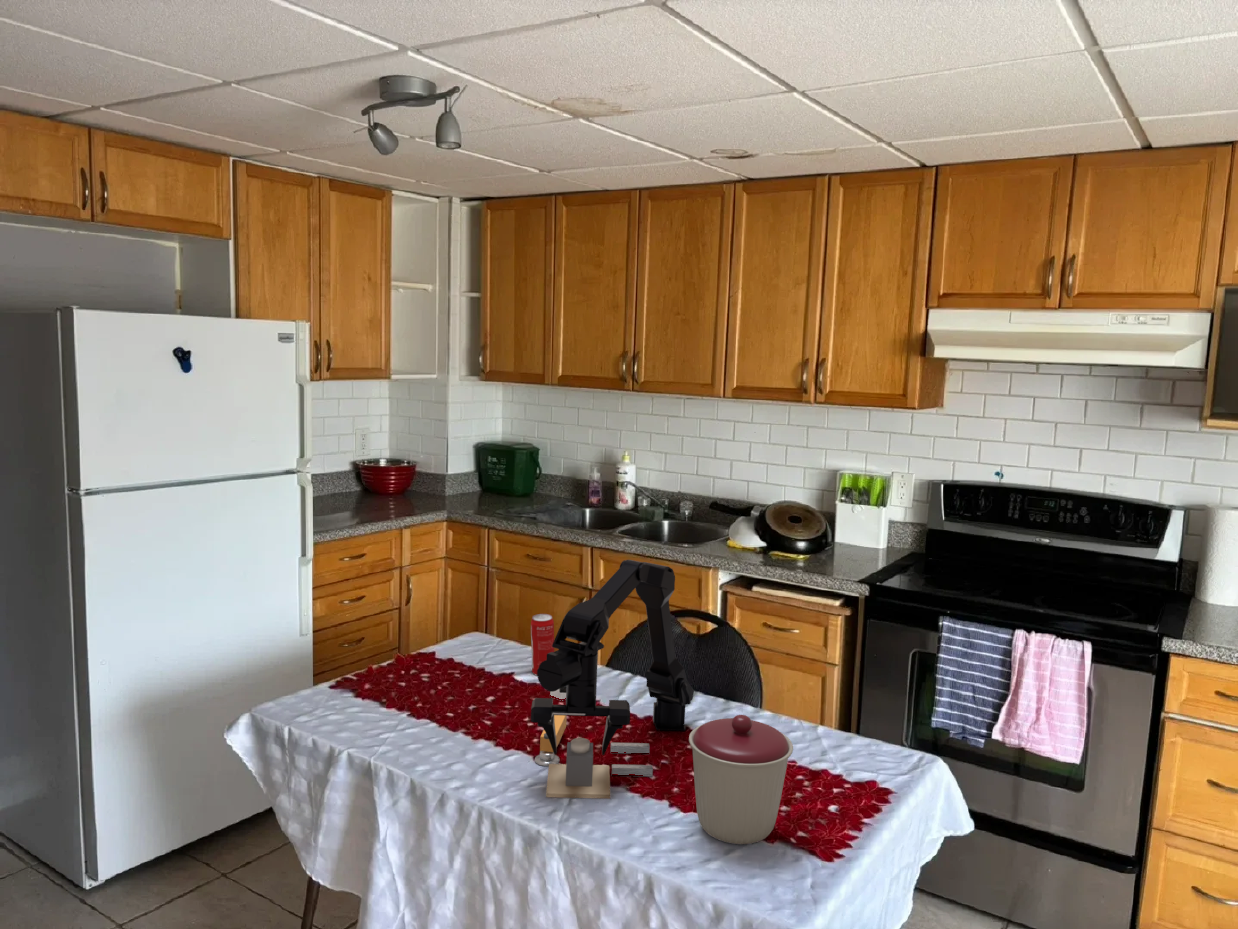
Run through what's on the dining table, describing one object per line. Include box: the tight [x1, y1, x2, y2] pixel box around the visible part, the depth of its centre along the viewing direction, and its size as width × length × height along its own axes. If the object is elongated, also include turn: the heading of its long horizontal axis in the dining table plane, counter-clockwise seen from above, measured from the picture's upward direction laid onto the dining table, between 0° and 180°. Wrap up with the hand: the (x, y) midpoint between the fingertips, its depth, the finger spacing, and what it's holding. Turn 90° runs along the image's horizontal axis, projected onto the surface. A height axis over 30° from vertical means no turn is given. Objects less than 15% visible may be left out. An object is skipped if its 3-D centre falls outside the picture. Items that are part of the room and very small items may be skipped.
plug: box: [565, 737, 594, 787], centre depth 180 cm, size 5×6×8 cm
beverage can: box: [530, 613, 555, 677], centre depth 237 cm, size 6×6×15 cm
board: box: [545, 763, 611, 800], centre depth 181 cm, size 12×12×1 cm
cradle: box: [534, 742, 654, 777], centre depth 190 cm, size 24×12×2 cm, turn 92°
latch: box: [539, 715, 568, 752], centre depth 195 cm, size 14×3×4 cm, turn 173°
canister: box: [688, 714, 794, 845], centre depth 165 cm, size 18×18×21 cm
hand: (579, 753), depth 180 cm, fingers open, 9 cm apart
